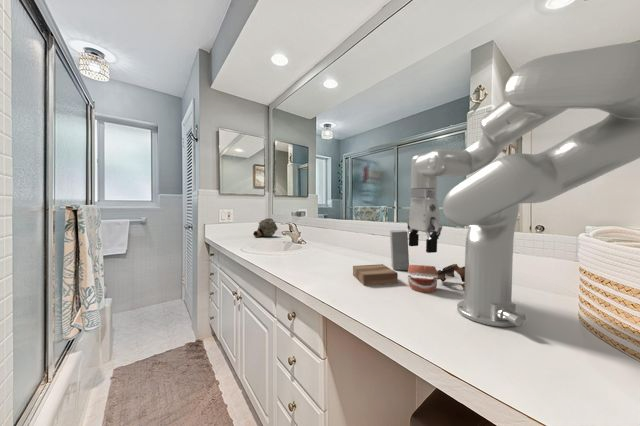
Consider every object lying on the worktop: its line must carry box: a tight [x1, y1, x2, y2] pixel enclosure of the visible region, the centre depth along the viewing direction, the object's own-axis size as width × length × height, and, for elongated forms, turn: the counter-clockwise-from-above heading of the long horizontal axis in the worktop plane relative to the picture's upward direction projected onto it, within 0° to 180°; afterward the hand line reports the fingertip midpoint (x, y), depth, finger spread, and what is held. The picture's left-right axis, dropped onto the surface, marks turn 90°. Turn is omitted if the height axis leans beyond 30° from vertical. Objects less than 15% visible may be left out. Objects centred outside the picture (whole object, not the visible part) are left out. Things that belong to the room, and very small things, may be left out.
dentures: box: [407, 264, 438, 293], centre depth 79 cm, size 9×7×8 cm
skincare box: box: [389, 229, 410, 271], centre depth 104 cm, size 8×7×16 cm
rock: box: [253, 217, 279, 238], centre depth 200 cm, size 18×14×15 cm
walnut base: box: [352, 263, 399, 287], centre depth 90 cm, size 12×12×4 cm
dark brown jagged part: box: [436, 263, 465, 291], centre depth 82 cm, size 12×10×8 cm
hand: (421, 248), depth 79 cm, fingers open, 9 cm apart
